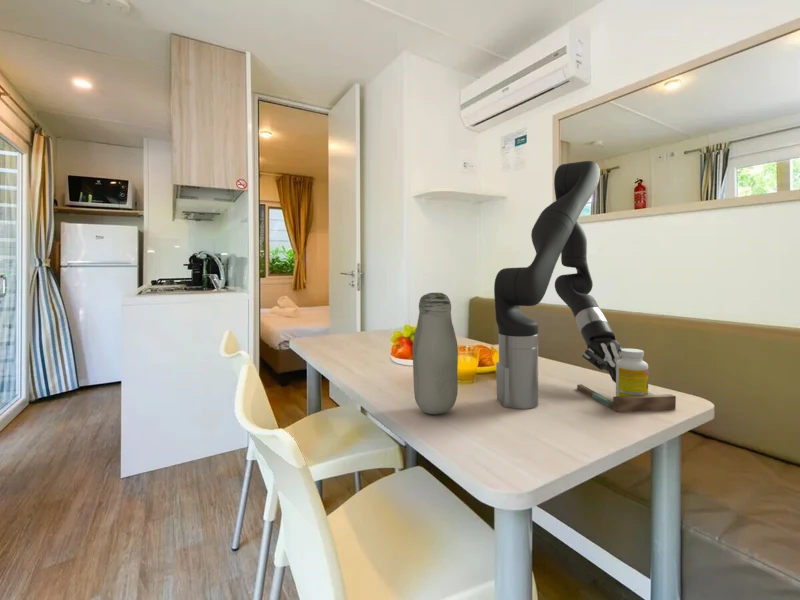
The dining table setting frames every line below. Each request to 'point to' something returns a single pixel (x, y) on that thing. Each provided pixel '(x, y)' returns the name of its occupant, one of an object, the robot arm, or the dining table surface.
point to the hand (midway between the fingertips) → (621, 382)
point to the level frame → (634, 401)
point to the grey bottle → (435, 355)
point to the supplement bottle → (631, 373)
